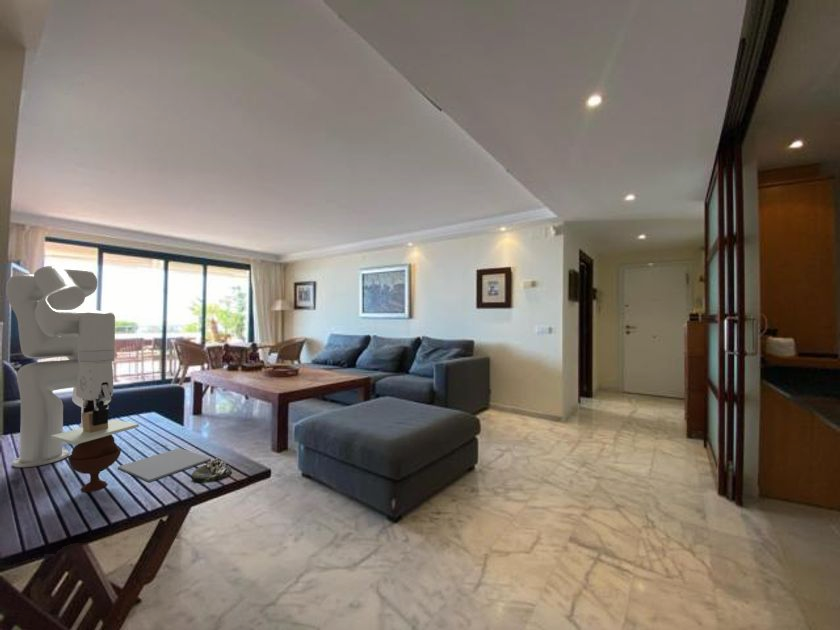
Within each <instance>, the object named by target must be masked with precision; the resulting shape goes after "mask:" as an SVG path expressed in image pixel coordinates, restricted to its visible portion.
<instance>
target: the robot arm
mask: <svg viewBox="0 0 840 630" xmlns="http://www.w3.org/2000/svg"><path fill="white" fill-rule="evenodd" d="M5 285H6V286H5V293H6V299H7V301H8V304H9V305H10V307H11V309H12V311H13V312H14V315H15V317H16V319H17V326H18V337H19V346H20V349H21V353H22V355H23V357H25V358H27V359H50V358H51V359H53V358H67V359H62V360H49V361H48V360H47V361H37V362H36V361H35V362H31V363H27V364H24V365H23V366H21V367H20V368H19V369H18V371H17V372H16V383H17V386H18V392H19V399H20V425H19V426H20V428H19V429H20V434H19V437H20V438H19V439H20V440H19V443H20V444H19V446H20V447H19V457H16V458H15V459H13V460H12V466H13V467H15V468H32V467H39V466H45V465H47V464H48V465H49V464H52V463H55V462H59V461H61V460H64V459H66V458H68V456H70V452H69V450H68V449H63V445H64V444H63V443H64V442H62V441H58V440H54V439H51V435H55V434H59V433H63V431H64V429H63V428H64V404H63V401H62V399H61V398H60V397H59V396H58V395H56V394H55V393H54V391H59V390H65V389H74V387H76V395H77V396H78V397H80V398H83V400H84V402H83V407H84V408H83V413H85V412H89V411H93V421H92V425H93V426H96V425H101V424H106V423H108V421H109V408H110V402H111V401H112V397H113V395H114V369H113V362H114V361H115V354H116V353H115V347H116V343H115V342H116V341H115V340H116V338H115V337H116V316H115V314H114V313H113V312H110V311H102V310H83V309H81V310H79V309H78V308H79V307H80V306H81V305H83V304H84V302H85V300H86V298H87V297H89V296H91V295H92V294H93V293H95V292H96V290H97V288H98V278H97V276H96V275H95V273H94V272H93V271H92V270H89V269H87V268H83V267H82V268H80V267H71V266H70V267H69V266H59V265H47V266H42V267H40V268H37V269H36V270H35V272H34V274H33V273H32V274H31V273H30V274H29V273H28V274H26V273H25V274H17V275H12V276H11V277H9V278H8V280H7V282H6V284H5ZM94 410H95V411H94Z"/></svg>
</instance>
